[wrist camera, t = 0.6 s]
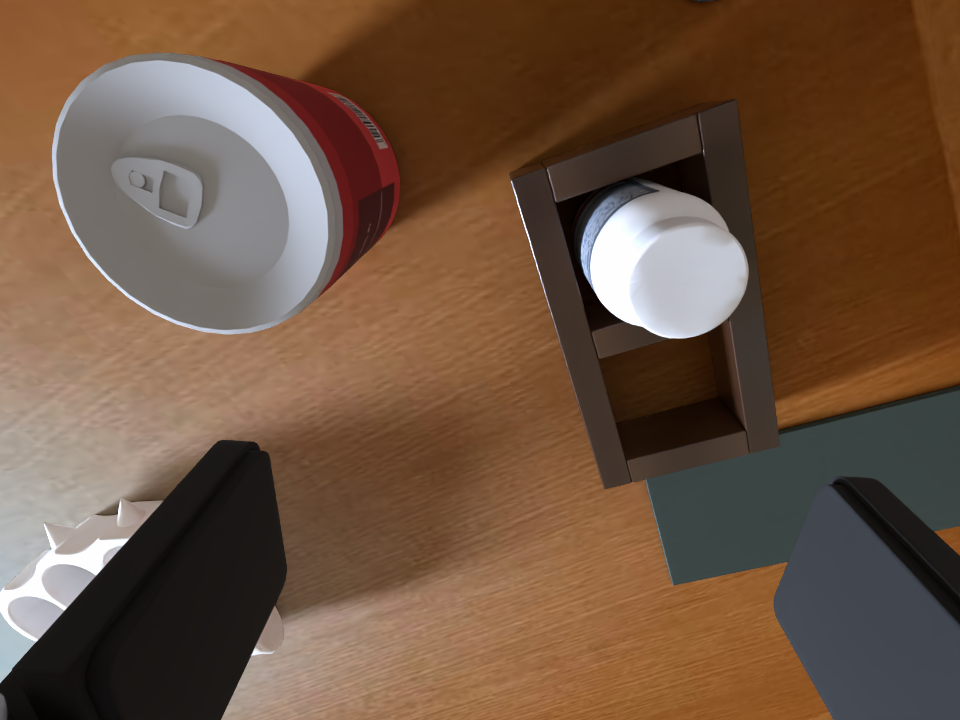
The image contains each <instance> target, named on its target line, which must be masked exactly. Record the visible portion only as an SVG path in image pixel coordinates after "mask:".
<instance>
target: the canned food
mask: <svg viewBox="0 0 960 720" xmlns="http://www.w3.org/2000/svg"><path fill="white" fill-rule="evenodd" d="M52 163H53V179H54V183H55V187H56V191H57V195H58V199H59V203H60V207H61V209H62V211H63V213H64V216H65V218H66V220H67V222H68V225H69V227H70V229H71V231H72V233H73V235H74V236H75V238H76V239H77V241H78V243H79V244H80V246H81V247H82V249H83V250H84V252H85V253H86V255H87V257H88V258H89V259H90V260H91V261H92V262H93V264H94V265H95V266H96V267H97V268H98V269H99V270H100V272H101V273H102V274H103V275H104V276H105V277H106V278H107V280H109V281H110V282H111V283H112V284H113V285H114V286H116V287H117V288H118V289H119V290H120V291H121V292H123V293H124V294H125V295H126V296H127V297H128V298H130V299H131V300H133V301H134V302H136V303H137V304H139V305H141V306H142V307H144V308H145V309H147V310H148V311H150V312H151V313H153V314H155V315H158V316H160V317H162V318H164V319H166V320H169V321H171V322H173V323H175V324H177V325H181V326H185V327H188V328H192V329H195V330H199V331H202V332H211V333H220V334H240V333H252V332H255V331H259V330H263V329H267V328H270V327H273V326H275V325H277V324H279V323H281V322H283V321H285V320H287V319H289V318H291V317H293V316H294V315H296V314H298V313H300V312H301V311H303V310H304V309H305V308H306V307H307V306H308V305H310V304H311V303H312V302H313V301H314V300H316V299H317V298H318V297H319V296H320V295H322V294H323V293H324V292H325V291H326V290H327V289H329V288H330V287H331V286H332V285H333V284H334V283H335V282H336V281H337V280H338V279H339V278H340V277H341V276H342V275H343V274H344V273H345V272H346V271H347V270H348V269H349V268H351V267H352V266H353V265H354V264H355V263H356V262H357V261H358V260H359V259H360V258H361V257H362V256H363V255H364V254H365V253H366V252H367V251H368V250H369V249H370V248H371V247H372V246H374V245H375V244H376V243H377V242H378V241H379V240H380V239H381V238H382V236H383V235H384V234H385V232H386V231H387V230H388V228H389V227H390V225H391V223H392V221H393V219H394V216H395V214H396V212H397V207H398V202H399V198H400V176H399V170H398V165H397V160H396V158H395V155H394V152H393V150H392V147H391V144H390V143H389V141H388V139H387V138H386V136H385V134H384V132H383V131H382V129H381V128H380V126H379V125H378V124H377V123H376V122H375V121H374V119H373V118H372V117H371V116H370V115H369V113H367V112H366V111H365V110H364V109H363V108H361V107H360V106H359V105H358V104H357V103H355V102H354V101H353V100H351V99H349V98H347V97H345V96H344V95H342V94H340V93H338V92H336V91H333V90H330V89H327V88H324V87H321V86H318V85H314V84H311V83H307V82H303V81H299V80H295V79H291V78H287V77H283V76H280V75H276V74H272V73H268V72H264V71H260V70H256V69H252V68H249V67H245V66H241V65H237V64H233V63H229V62H225V61H221V60H214V59H209V58H205V57H201V56H193V55H185V54H177V53H151V54H141V55H131V56H127V57H125V58H122V59H119V60H116V61H114V62H111V63H108V64H105V65H103V66H102V67H100V68H99V69H98V70H96V71H95V72H93V73H92V74H91V75H89V76H88V77H87V78H85V79H84V80H82V82H81V83H80V84H79V85H78V87H77V88H76V89H75V90H74V92H73V93H72V94H71V95H70V97H69V98H68V99H67V100H66V102H65V105H64V107H63V110H62V112H61V114H60V117H59V119H58V121H57V124H56V128H55V134H54V140H53V147H52Z"/></svg>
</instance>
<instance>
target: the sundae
mask: <svg viewBox="0 0 960 720" xmlns="http://www.w3.org/2000/svg"><path fill="white" fill-rule="evenodd" d="M693 1H697V2H707V1H714V0H693Z"/></svg>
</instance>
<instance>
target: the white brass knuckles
mask: <svg viewBox="0 0 960 720" xmlns="http://www.w3.org/2000/svg"><path fill="white" fill-rule="evenodd" d="M163 501H164V500H160V501H142V502H133V503H131V502H129V501H128V500H126V499H124V498H122V497H121V500H120V505H119V511H118V514H116V515H110V516H101V515H92V516H91V517H89V518H88V519H86V520H85V521H84V522H82V523H81V524H80V525H78V526H77V527H70V526H64V525H59V524H53V523H48V522H44V525H45V528H46V531H47V534H48V537H49V540H50V543H51V546H52V549H51V550H44V551H43V552H41V553H40V554H39V555H38V556H37V557H36V558H35V559H34V560H33V561H32V562H31V563H30V564H28V565H27V566H26V567H25V568H24V569H23V570H22V571H21V572H20V573H19V574H18V575H17V576H15V577H14V578H13V579H12V580H11V581H10V582H9V583H8V584H7V585H6V586H5V587H4V588H3V590H2V591H1V593H0V610H1V613H2V614H3V616H4V618H5V619H6V620H7V622H8V623H9V624H10V625H11V626H12V627H13V628H14V629H16V630H17V631H18V632H20V633H21V634H23V635H24V636H26V637H28V638H30V639H32V640H34V641H36V642H37V641H38V640H39V638H40V637H41V636H42V635H43V634H44V633H45V632H46V631H47V630H48V628H49V627H50V626H51V625H52V624H53V623H54V622H55V621H56V620H57V618H58V617H59V616H60V615H61V614H62V613H63V612H64V611H65V610H66V608H67V607H68V606H69V605H70V604H71V603H72V602H73V601H74V600H75V599H76V597H77V596H78V595H79V594H80V593H81V592H82V591H83V590H84V589H85V587H86V586H87V585H88V584H89V583H90V582H91V581H92V580H93V579H94V577H95V576H96V575H97V574H98V573H99V572H100V571H101V570H102V569H103V567H104V566H105V565H106V564H107V563H108V562H109V561H110V560H111V559H112V557H113V556H114V555H115V554H116V553H117V552H118V551H119V550H120V549H121V547H122V546H123V545H124V544H125V543H126V542H127V541H128V540H129V539H130V538H131V536H132V535H133V534H134V533H135V532H136V531H137V530H138V529H139V528H140V526H141V525H142V524H143V523H144V522H145V521H146V520H147V519H148V518H149V516H150V515H151V514H152V513H153V512H154V511H155V510H156V509H157V508H158V506H159V505H160V504H161V503H162V502H163ZM283 639H284V629H283V624H282V620H281V617H280V615H279V613H278V611H277V609H276V607H275V606H274V608H273V610H272V612H271V615H270V617H269V619H268V621H267V623H266V625H265V627H264V629H263V632H262V634H261V636H260V638H259V640H258V642H257V644H256V646H255V648H254V651H253V653H252V655H251V656H253V655H257V654H271V653H275V652H276V650H277V649H279V648H280V646H281V645H282V642H283Z"/></svg>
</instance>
